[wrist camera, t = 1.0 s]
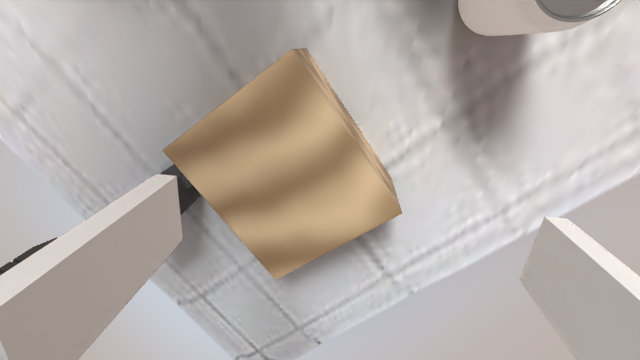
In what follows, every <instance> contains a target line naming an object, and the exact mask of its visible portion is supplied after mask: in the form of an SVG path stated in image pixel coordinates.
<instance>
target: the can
mask: <svg viewBox="0 0 640 360" xmlns="http://www.w3.org/2000/svg"><path fill="white" fill-rule="evenodd" d="M620 1H621V0H458V9H459V13H460V16H461V18H462V20H463V22H464V24H465V25H466V26H467V27H468V28H469V29H470V30H472V31H473V32H475V33H477V34H480V35H484V36H504V35H519V34H533V33H546V32H556V31H563V30H567V29H571V28H574V27H577V26H580V25H582V24H584V23H586V22H588V21H589V20H591V19H593V18H595V17H597V16H600V15H602V14H603V13H605V12H607V11H608V10H610V9H611V8H613V7H614V6H615V5H617V4H618V3H619V2H620Z"/></svg>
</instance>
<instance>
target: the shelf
mask: <svg viewBox="0 0 640 360" xmlns="http://www.w3.org/2000/svg"><path fill="white" fill-rule="evenodd" d="M163 152H164V153H165V154H166V155H167V156H168V157H169V158H170V159H171V161H172V162H173V163H174V164H175V165H176V166H177V167H178V169H179V170H180V171H181V172H182V173H183V174H184V175H185V177H186V178H187V179H188V180H189V181H190V182H191V183H192V185H193V186H194V187H195V188H196V189H197V190H198V191H199V193H200V194H201V195H202V196H203V197H204V198H205V199H206V201H207V202H208V203H209V204H210V205H211V206H212V207H213V209H214V210H215V211H216V212H217V213H218V214H219V215H220V217H221V218H222V219H223V220H224V221H225V222H226V223H227V225H228V226H229V227H230V228H231V229H232V230H233V231H234V233H235V234H236V235H237V236H238V237H239V238H240V239H241V241H242V242H243V243H244V244H245V245H246V246H247V247H248V249H249V250H250V251H251V252H252V253H253V254H254V255H255V257H256V258H257V259H258V260H259V261H260V262H261V263H262V265H263V266H264V267H265V268H266V269H267V270H268V271H269V273H270V274H271V275H272V276H273V277H274V278H275V279H276V280H277V279H279V278H281V277H283V276H284V275H286V274H288V273H290V272H292V271H294V270H296V269H298V268H300V267H301V266H303V265H305V264H307V263H309V262H311V261H313V260H315V259H317V258H319V257H320V256H322V255H324V254H326V253H328V252H330V251H332V250H334V249H336V248H337V247H339V246H341V245H343V244H345V243H347V242H349V241H351V240H353V239H354V238H356V237H358V236H360V235H362V234H364V233H366V232H368V231H370V230H371V229H373V228H375V227H377V226H379V225H381V224H383V223H385V222H387V221H389V220H390V219H392V218H394V217H396V216H398V215H400V214H402V212H401V208H400V205H399V202H398V198H397V195H396V192H395V189H394V185H393V182H392V179H391V177H390V175H389V174H388V172H387V171H386V169H385V168H384V166H383V165H382V163H381V162H380V160H379V159H378V157H377V156H376V154H375V153H374V151H373V149H372V148H371V146H370V145H369V143H368V142H367V140H366V139H365V137H364V136H363V134H362V133H361V131H360V130H359V128H358V127H357V125H356V124H355V122H354V121H353V119H352V118H351V116H350V114H349V113H348V111H347V110H346V108H345V107H344V105H343V104H342V102H341V101H340V99H339V98H338V96H337V95H336V93H335V92H334V90H333V89H332V87H331V86H330V84H329V83H328V81H327V79H326V78H325V76H324V75H323V73H322V72H321V70H320V69H319V67H318V66H317V64H316V63H315V61H314V60H313V58H312V57H311V55H310V54H309V52H308V51H307V49H292V50H290V51H289V52H288V53H287V54H285V55H284V56H283V57H281V58H280V59H279V60H278V61H276V62H275V63H274V64H273V65H271V66H270V67H269V68H267V69H266V70H265V71H264V72H262V73H261V74H260V75H258V76H257V77H256V78H255V79H253V80H252V81H251V82H249V83H248V84H247V85H246V86H244V87H243V88H242V89H240V90H239V91H238V92H237V93H235V94H234V95H233V96H231V97H230V98H229V99H228V100H226V101H225V102H224V103H223V104H221V105H220V106H219V107H217V108H216V109H215V110H214V111H212V112H211V113H210V114H208V115H207V116H206V117H205V118H203V119H202V120H201V121H199V122H198V123H197V124H196V125H194V126H193V127H192V128H190V129H189V130H188V131H187V132H185V133H184V134H183V135H181V136H180V137H179V138H178V139H176V140H175V141H174V142H173V143H171V144H170V145H169V146H167V147H166V148H165V149H164V150H163Z"/></svg>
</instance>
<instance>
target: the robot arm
mask: <svg viewBox="0 0 640 360" xmlns="http://www.w3.org/2000/svg"><path fill="white" fill-rule="evenodd" d="M182 240H183V235H182V225H181V215H180V205H179V196H178V186H177V176H172V175H163V174H155V175H154V176H152V177H151V178H149V179H148V180H146V181H144V182H143V183H141V184H140V185H138V186H137V187H135V188H134V189H132V190H131V191H129V192H128V193H126V194H125V195H123V196H121V197H120V198H118V199H117V200H115V201H114V202H112V203H111V204H109V205H108V206H106V207H105V208H103V209H102V210H100V211H98V212H97V213H95V214H94V215H92V216H91V217H89V218H88V219H86V220H85V221H83V222H82V223H80V224H79V225H77V226H76V227H74V228H72V229H71V230H70V231H68V232H66V233H65V234H63V235H62V236H60V237H59V238H54V239H52V240H50V241H47V242H45V243H42V244H40V245H37V246H35V247H33V248H31V249H29V250H28V251H26V252H25V253H23V254H22V255H20V256H18V257H17V258H15V259H14V261H13V262H9V263H7V264H6V265H4V266H3V267H1V268H0V360H78V359H79V358H80V357H81V356H82V355H83V354H84V352H85V351H86V350H87V349H88V348H89V347H90V346H91V344H92V343H93V342H94V341H95V340H96V338H97V337H98V336H99V335H100V334H101V333H102V332H103V331H104V329H105V328H106V327H107V326H108V325H109V324H110V322H111V321H112V320H113V319H114V318H115V317H116V316H117V315H118V313H119V312H120V311H121V310H122V309H123V308H124V307H125V305H126V304H127V303H128V302H129V301H130V300H131V299H132V297H133V296H134V295H135V294H136V293H137V292H138V290H139V289H140V288H141V287H142V286H143V285H144V284H145V283H146V281H147V280H148V279H149V278H150V277H151V276H152V274H153V273H154V272H155V271H156V270H157V269H158V268H159V266H160V265H161V264H162V263H163V262H164V261H165V260H166V258H167V257H168V256H169V255H170V254H171V253H172V252H173V250H174V249H175V248H176V247H177V246H178V245H179V244H180V242H181V241H182ZM519 281H520V282H521V283H522V285H523V286H524V287H525V289H526V290H527V292H528V293H529V294H530V296H531V297H532V299H533V300H534V301H535V303H536V304H537V305H538V307H539V308H540V310H541V311H542V313H543V314H544V315H545V317H546V318H547V320H548V321H549V322H550V324H551V325H552V326H553V328H554V329H555V331H556V332H557V334H558V335H559V336H560V338H561V339H562V340H563V342H564V343H565V345H566V346H567V347H568V349H569V350H570V352H571V353H572V354H573V355H574V357H575V359H576V360H640V277H639V276H638V275H637V274H636V273H634V272H633V271H632V270H631V269H629V268H628V267H627V266H626V265H624V264H623V263H622V262H621V261H619V260H618V259H617V258H616V257H614V256H613V255H612V254H611V253H609V252H608V251H607V250H606V249H604V248H603V247H602V246H601V245H599V244H598V243H597V242H595V241H594V240H593V239H592V238H591V237H589V236H588V235H587V234H586V233H584V232H583V231H582V230H581V229H579V228H578V227H577V226H575V225H574V224H573V223H572V222H571V221H569V220H568V219H562V218H553V217H544V219H543V222H542V224H541V227H540V229H539V232H538V235H537V237H536V239H535V242H534V245H533V247H532V249H531V252H530V254H529V257H528V260H527V262H526V264H525V267H524V269H523V272H522V274H521V277H520V280H519Z"/></svg>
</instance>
